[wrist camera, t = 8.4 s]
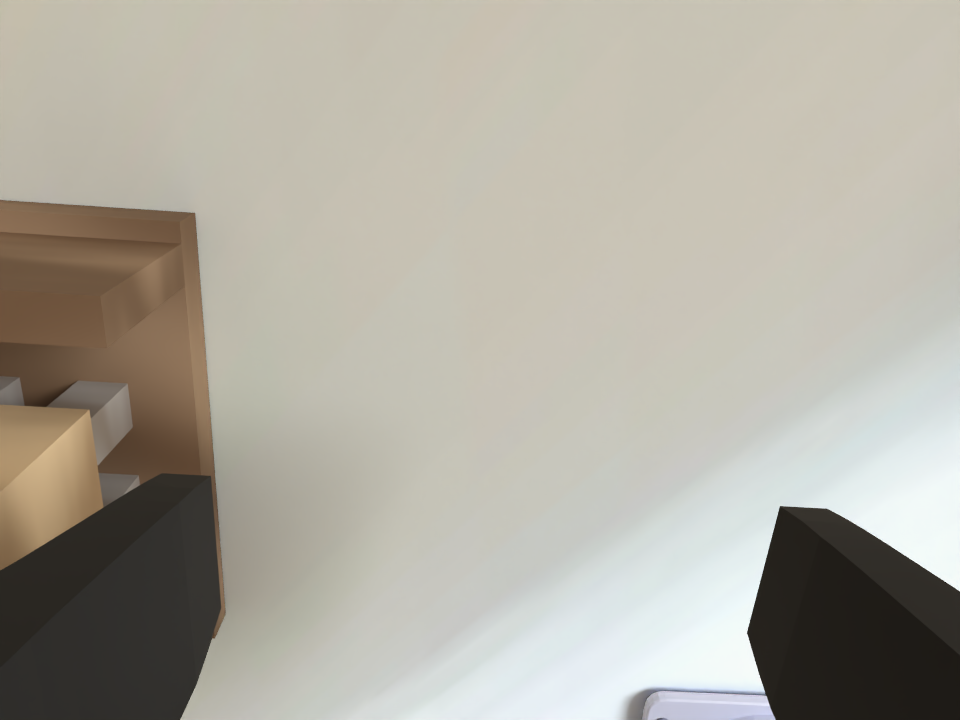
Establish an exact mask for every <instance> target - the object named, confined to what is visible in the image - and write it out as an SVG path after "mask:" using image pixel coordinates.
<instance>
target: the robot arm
mask: <svg viewBox="0 0 960 720" xmlns="http://www.w3.org/2000/svg"><path fill="white" fill-rule="evenodd" d="M220 611H221V596H220V584H219V571H218V558H217V545H216V533H215V520H214V507H213V494H212V482H211V476H204V475H186V474H167V473H161V474H159V475H157V476H156V477H154V478H152V479H150V480H148V481H146V482H144V483H143V484H141V485H139V486H138V487H136V488H134V489H133V490H131V491H129V492H128V493H126V494H124V495H123V496H121V497H119V498H118V499H116V500H115V501H113V502H111V503H110V504H108V505H107V506H105V507H103V508H102V509H100V510H99V511H97V512H95V513H94V514H92V515H91V516H89V517H87V518H86V519H84V520H83V521H81V522H79V523H78V524H76V525H75V526H73V527H71V528H70V529H68V530H66V531H65V532H63V533H62V534H60V535H58V536H57V537H55V538H53V539H52V540H50V541H49V542H47V543H45V544H44V545H42V546H40V547H39V548H37V549H36V550H34V551H32V552H31V553H29V554H27V555H26V556H24V557H22V558H21V559H19V560H17V561H16V562H14V563H12V564H11V565H9V566H7V567H5V568H4V569H2V570H0V720H180V719H181V717H182V714H183V712H184V710H185V708H186V706H187V704H188V701H189V699H190V697H191V695H192V693H193V690H194V688H195V686H196V684H197V681H198V678H199V675H200V672H201V669H202V666H203V664H204V661H205V658H206V655H207V652H208V649H209V646H210V642H211V639H212V636H213V633H214V630H215V627H216V623H217V620H218V617H219V614H220ZM747 634H748V637H749V641H750V644H751V648H752V651H753V654H754V658H755V661H756V665H757V668H758V671H759V675H760V678H761V681H762V684H763V687H764V690H765V693H766V696H764V695H741V694H719V693H696V692H673V691H659V692H655V693H653V694H651V695H650V696H649V697H648V698H647V700H646V702H645V706H644V711H643V716H642V720H656V719H658V718H662V719H659V720H960V591H958V590H957V589H955V588H954V587H952V586H951V585H949V584H947V583H946V582H944V581H943V580H941V579H940V578H938V577H937V576H935V575H934V574H932V573H931V572H929V571H928V570H926V569H924V568H923V567H921V566H920V565H918V564H917V563H915V562H914V561H912V560H911V559H909V558H908V557H906V556H904V555H903V554H901V553H900V552H898V551H897V550H895V549H894V548H892V547H891V546H889V545H888V544H886V543H884V542H883V541H881V540H880V539H878V538H876V537H875V536H873V535H872V534H870V533H869V532H867V531H865V530H864V529H862V528H860V527H859V526H857V525H855V524H854V523H852V522H850V521H849V520H847V519H845V518H843V517H842V516H840V515H838V514H836V513H834V512H832V511H830V510H828V509H821V508H802V507H783V506H780V508H779V512H778V516H777V520H776V524H775V528H774V531H773V535H772V539H771V543H770V547H769V551H768V554H767V558H766V562H765V566H764V570H763V574H762V578H761V581H760V585H759V589H758V593H757V597H756V601H755V604H754V608H753V612H752V616H751V620H750V624H749V627H748V631H747Z"/></svg>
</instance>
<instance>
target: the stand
mask: <svg viewBox="0 0 960 720" xmlns="http://www.w3.org/2000/svg"><path fill="white" fill-rule="evenodd" d="M0 405H16V406H34V407H51V408H69V409H87V410H90V417H91V424H92V431H93V438H94V445H95V452H96V459H97V466H98V473H99V480H100V487H101V494H102V501H103V507H105V506H107V505H108V504H110V503H111V502H113V501H115V500H116V499H118V498H119V497H121V496H123V495H124V494H126V493H128V492H129V491H131V490H133V489H134V488H136V487H138V486H139V485H141V484H143V483H144V482H146V481H148V480H150V479H152V478H154V477H156V476H157V475H159V474H161V473H167V474H186V475H204V476H211V482H212V494H213V507H214V520H215V533H216V545H217V558H218V571H219V584H220V596H221V611H220V614H219V617H218V620H217V623H216V627H215V630H214V633H213V636H212V638H215V637H216V635H217V632H218V630H219V628H220V625H221V623H222V621H223V619H224V616H225V601H224V588H223V575H222V562H221V549H220V535H219V522H218V509H217V496H216V483H215V470H214V457H213V443H212V430H211V417H210V404H209V391H208V378H207V365H206V352H205V338H204V325H203V312H202V299H201V286H200V273H199V260H198V247H197V233H196V220H195V213H186V212H171V211H156V210H141V209H125V208H110V207H95V206H80V205H65V204H50V203H34V202H19V201H4V200H0Z"/></svg>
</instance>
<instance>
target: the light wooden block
mask: <svg viewBox="0 0 960 720" xmlns="http://www.w3.org/2000/svg"><path fill="white" fill-rule="evenodd" d="M102 508H103V501H102V494H101V487H100V480H99V473H98V466H97V459H96V452H95V445H94V438H93V431H92V424H91V417H90V410H87V409H69V408H51V407H34V406H16V405H0V570H2V569H4V568H5V567H7V566H9V565H11V564H12V563H14V562H16V561H17V560H19V559H21V558H22V557H24V556H26V555H27V554H29V553H31V552H32V551H34V550H36V549H37V548H39V547H40V546H42V545H44V544H45V543H47V542H49V541H50V540H52V539H53V538H55V537H57V536H58V535H60V534H62V533H63V532H65V531H66V530H68V529H70V528H71V527H73V526H75V525H76V524H78V523H79V522H81V521H83V520H84V519H86V518H87V517H89V516H91V515H92V514H94V513H95V512H97V511H99V510H100V509H102Z"/></svg>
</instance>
